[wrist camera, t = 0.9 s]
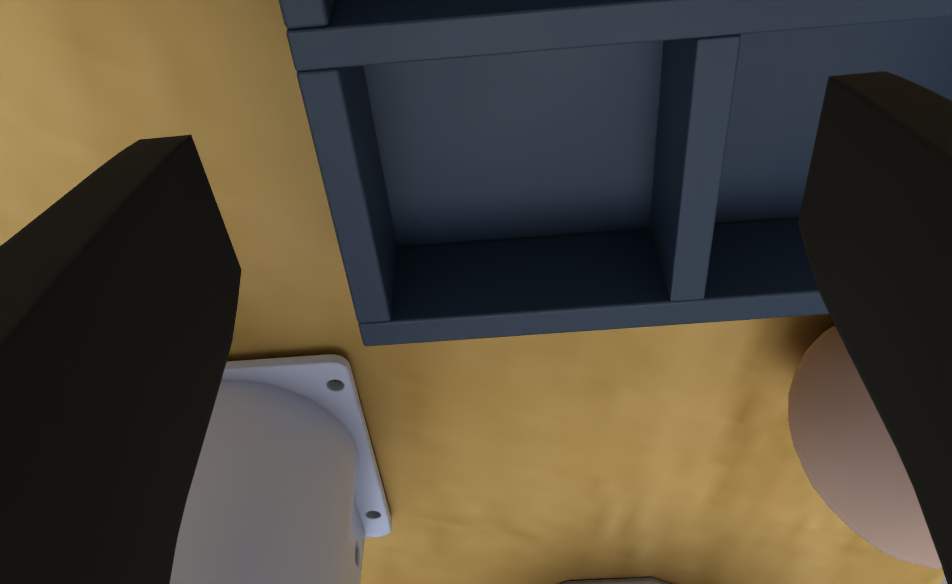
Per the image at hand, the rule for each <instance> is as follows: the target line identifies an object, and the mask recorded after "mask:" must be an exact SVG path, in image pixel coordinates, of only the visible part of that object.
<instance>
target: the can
mask: <svg viewBox="0 0 952 584" xmlns="http://www.w3.org/2000/svg"><path fill="white" fill-rule="evenodd" d="M561 584H669V583H666V582H663V581H660V580H658V579H655V578H652V577H649V578H628V579H606V580H584V581H566V582H564V583H561Z"/></svg>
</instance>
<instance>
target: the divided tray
mask: <svg viewBox="0 0 952 584" xmlns="http://www.w3.org/2000/svg"><path fill="white" fill-rule="evenodd" d="M279 4H280V8H281V12H282V16H283V20H284V24H285V26H286V27H287V28H288V29H287V32H286V34H287V38H288V42H289V46H290V50H291V54H292V58H293V62H294V66H295V69H296V71H297V78H298V82H299V86H300V90H301V94H302V98H303V102H304V106H305V110H306V114H307V118H308V122H309V126H310V131H311V135H312V139H313V143H314V147H315V151H316V155H317V159H318V163H319V167H320V171H321V175H322V179H323V183H324V187H325V191H326V195H327V199H328V204H329V208H330V212H331V216H332V220H333V224H334V228H335V232H336V236H337V240H338V244H339V248H340V252H341V256H342V260H343V264H344V268H345V272H346V277H347V281H348V285H349V289H350V293H351V297H352V301H353V305H354V309H355V313H356V317H357V321H358V322H359V324H358V325H359V329H360V333H361V337H362V341H363V344H364V346H377V345H392V344H406V343H420V342H435V341H449V340H463V339H477V338H492V337H506V336H520V335H535V334H549V333H563V332H577V331H592V330H606V329H620V328H635V327H649V326H663V325H677V324H692V323H706V322H720V321H735V320H749V319H763V318H777V317H792V316H806V315H820V314H829V312H828V310H827V308H826V306H825V304H824V302H823V299H822V297H821V295H820V293H819V290H818V287H817V284H816V281H815V278H814V275H813V272H812V269H811V266H810V263H809V259H808V256H807V253H806V249H805V246H804V242H803V239H802V236H801V232H800V229H799V225H798V220H799V215H800V210H801V205H802V201H803V196H804V191H805V186H806V182H807V177H808V172H809V167H810V162H811V158H812V153H813V148H814V143H815V139H816V134H817V129H818V124H819V120H820V115H821V110H822V105H823V100H824V96H825V91H826V86H827V81H828V77H829V76H836V75H847V74H858V73H869V72H880V71H886V72H889V73H892V74H894V75H897V76H900V77H902V78H905V79H907V80H909V81H912V82H914V83H916V84H918V85H920V86H922V87H925V88H927V89H929V90H931V91H933V92H935V93H937V94H939V95H941V96H943V97H945V98H947V99H949V100H951V101H952V0H279Z"/></svg>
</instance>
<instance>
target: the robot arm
mask: <svg viewBox="0 0 952 584" xmlns="http://www.w3.org/2000/svg"><path fill="white" fill-rule="evenodd" d="M798 225H799V229H800V232H801V236H802V239H803V242H804V246H805V249H806V253H807V256H808V259H809V263H810V266H811V269H812V272H813V275H814V278H815V281H816V284H817V287H818V290H819V293H820V295H821V297H822V299H823V302H824V304H825V306H826V308H827V310H828V312H829V314H830V316H831V318H832V320H833V322H834V324H835V327H836V329H837V331H838V333H839V335H840V337H841V339H842V341H843V343H844V345H845V347H846V349H847V351H848V353H849V355H850V357H851V359H852V361H853V363H854V365H855V367H856V369H857V371H858V373H859V375H860V377H861V379H862V381H863V383H864V385H865V387H866V389H867V391H868V393H869V395H870V397H871V399H872V401H873V403H874V405H875V407H876V409H877V411H878V413H879V415H880V417H881V419H882V421H883V423H884V425H885V427H886V429H887V431H888V433H889V435H890V437H891V439H892V441H893V443H894V445H895V447H896V449H897V451H898V454H899V456H900V458H901V460H902V463H903V465H904V467H905V470H906V472H907V474H908V476H909V479H910V481H911V483H912V485H913V488H914V491H915V493H916V496H917V499H918V502H919V504H920V507H921V510H922V513H923V515H924V518H925V521H926V524H927V527H928V529H929V532H930V535H931V538H932V540H933V543H934V546H935V549H936V551H937V554H938V557H939V560H940V562H941V565H942V568H943V571H944V574H945V577H946V580H947V583H948V584H952V101H951V100H949V99H947V98H945V97H943V96H941V95H939V94H937V93H935V92H933V91H931V90H929V89H927V88H925V87H922V86H920V85H918V84H916V83H914V82H912V81H909V80H907V79H905V78H902V77H900V76H897V75H894V74H892V73H889V72H886V71H880V72H869V73H858V74H847V75H836V76H829V77H828V81H827V86H826V91H825V96H824V100H823V105H822V110H821V115H820V120H819V124H818V129H817V134H816V139H815V143H814V148H813V153H812V158H811V162H810V167H809V172H808V177H807V182H806V186H805V191H804V196H803V201H802V205H801V210H800V215H799V220H798ZM240 277H241V268H240V265H239V262H238V260H237V257H236V254H235V252H234V249H233V246H232V243H231V241H230V238H229V235H228V233H227V230H226V227H225V225H224V222H223V219H222V217H221V214H220V211H219V208H218V206H217V203H216V200H215V198H214V195H213V192H212V190H211V187H210V184H209V182H208V179H207V176H206V173H205V171H204V168H203V165H202V163H201V160H200V157H199V155H198V152H197V149H196V147H195V144H194V141H193V138H192V136H191V135H184V136H174V137H163V138H152V139H141V140H138V141H137V142H135V143H133V144H132V145H130V146H129V147H127V148H125V149H124V150H122V151H121V152H120V153H118V154H117V155H115V156H114V157H113V158H111V159H110V160H109V161H107V162H106V163H105V164H103V165H102V166H101V167H100V168H98V169H97V170H96V171H94V172H93V173H92V174H91V175H89V176H88V177H87V178H86V179H84V180H83V181H82V182H81V183H79V184H78V185H77V186H76V187H74V188H73V189H72V190H71V191H69V192H68V193H67V194H66V195H64V196H63V197H62V198H61V199H59V200H58V201H57V202H56V203H54V204H53V205H52V206H51V207H49V208H48V209H47V210H46V211H44V212H43V213H42V214H41V215H39V216H38V217H37V218H35V219H34V220H33V221H32V222H30V223H29V224H28V225H27V226H25V227H24V228H23V229H22V230H20V231H19V232H18V233H17V234H15V235H14V236H13V237H12V238H10V239H9V240H8V241H6V242H5V243H4V244H2V245H1V246H0V584H360V581H361V570H362V559H363V547H364V538H368V537H381V536H385V535H387V534H389V533H390V532H391V528H392V519H391V515H390V512H389V508H388V504H387V501H386V497H385V493H384V489H383V486H382V482H381V478H380V474H379V471H378V467H377V463H376V460H375V456H374V452H373V448H372V445H371V441H370V437H369V433H368V430H367V426H366V422H365V419H364V415H363V411H362V407H361V404H360V400H359V396H358V392H357V389H356V385H355V381H354V377H353V374H352V370H351V366H350V364H349V362H348V360H346V359H345V358H344V357H342V356H339V355H335V354H327V355H313V356H298V357H284V358H270V359H255V360H241V361H227V358H228V355H229V351H230V347H231V343H232V339H233V332H234V325H235V318H236V311H237V303H238V295H239V286H240ZM333 380H339V381H333Z"/></svg>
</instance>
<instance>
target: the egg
mask: <svg viewBox="0 0 952 584" xmlns="http://www.w3.org/2000/svg"><path fill="white" fill-rule="evenodd" d="M788 420H789V426H790V431H791V435H792V440H793V445H794V447H795V450H796V452H797V454H798V457H799V459H800V461H801V464H802V466H803V469H804V470H805V472H806V474H807V476H808V478H809V480H810V482H811V484H812V486H813V488H814V489H815V490H816V491H817V493H818V494H819V495H820V497H821V498H822V499H823V500H824V502H825V503H826V504H827V505H828V507H829V508H830V509H831V510H832V511H833V512H834V513H835V514H836V515H837V516H838V517H839V518H840V519H841V520H842V521H843V522H844V523H845V524H846V525H847V526H848V527H849V528H850V529H852V530H853V531H854V532H855V533H857V534H858V535H859V536H860V537H862V538H863V539H865V540H866V541H867V542H869V543H870V544H871V545H873V546H874V547H876V548H877V549H878V550H880V551H881V552H883V553H885V554H887V555H890V556H892V557H894V558H896V559H899V560H901V561H904V562H908V563H912V564H916V565H920V566H924V567H929V568H934V569H937V568H942V565H941V562H940V560H939V557H938V554H937V551H936V549H935V546H934V543H933V540H932V538H931V535H930V532H929V529H928V527H927V524H926V521H925V518H924V515H923V513H922V510H921V507H920V504H919V502H918V499H917V496H916V493H915V491H914V488H913V485H912V483H911V481H910V479H909V476H908V474H907V472H906V470H905V467H904V465H903V463H902V460H901V458H900V456H899V454H898V451H897V449H896V447H895V445H894V443H893V441H892V439H891V437H890V435H889V433H888V431H887V429H886V427H885V425H884V423H883V421H882V419H881V417H880V415H879V413H878V411H877V409H876V407H875V405H874V403H873V401H872V399H871V397H870V395H869V393H868V391H867V389H866V387H865V385H864V383H863V381H862V379H861V377H860V375H859V373H858V371H857V369H856V367H855V365H854V363H853V361H852V359H851V357H850V355H849V353H848V351H847V349H846V347H845V345H844V343H843V341H842V339H841V337H840V335H839V333H838V331H837V329H836V327H835V326H833V327H831V328H829V329H828V330H826V331H824V332H823V333H822V334H821V335H820V336H819V337H818V338H817V339H816V340H815V341H814V342H813V343H812V345H811V346H810V347H809V348H808V349H807V350H806V351H805V353H804V355H803V357H802V359H801V361H800V363H799V365H798V367H797V369H796V371H795V374H794V377H793V381H792V384H791V387H790V391H789V403H788Z"/></svg>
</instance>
